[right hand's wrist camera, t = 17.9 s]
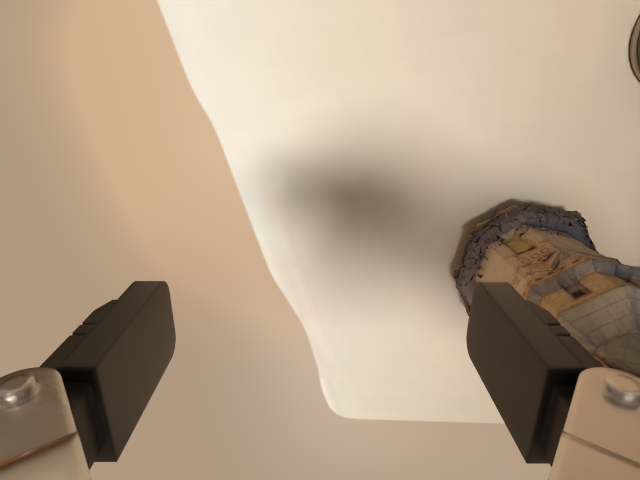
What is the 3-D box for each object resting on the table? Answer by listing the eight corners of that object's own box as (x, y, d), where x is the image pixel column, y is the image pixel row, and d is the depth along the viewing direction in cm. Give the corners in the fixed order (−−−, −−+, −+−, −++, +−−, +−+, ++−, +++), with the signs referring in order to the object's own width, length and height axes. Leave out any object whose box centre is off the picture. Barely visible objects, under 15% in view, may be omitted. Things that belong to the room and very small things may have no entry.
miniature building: (596, 205, 43) (1112, 443, 15) (544, 320, 48) (861, 662, 20) (472, 180, 42) (775, 383, 14) (432, 300, 47) (598, 629, 19)
